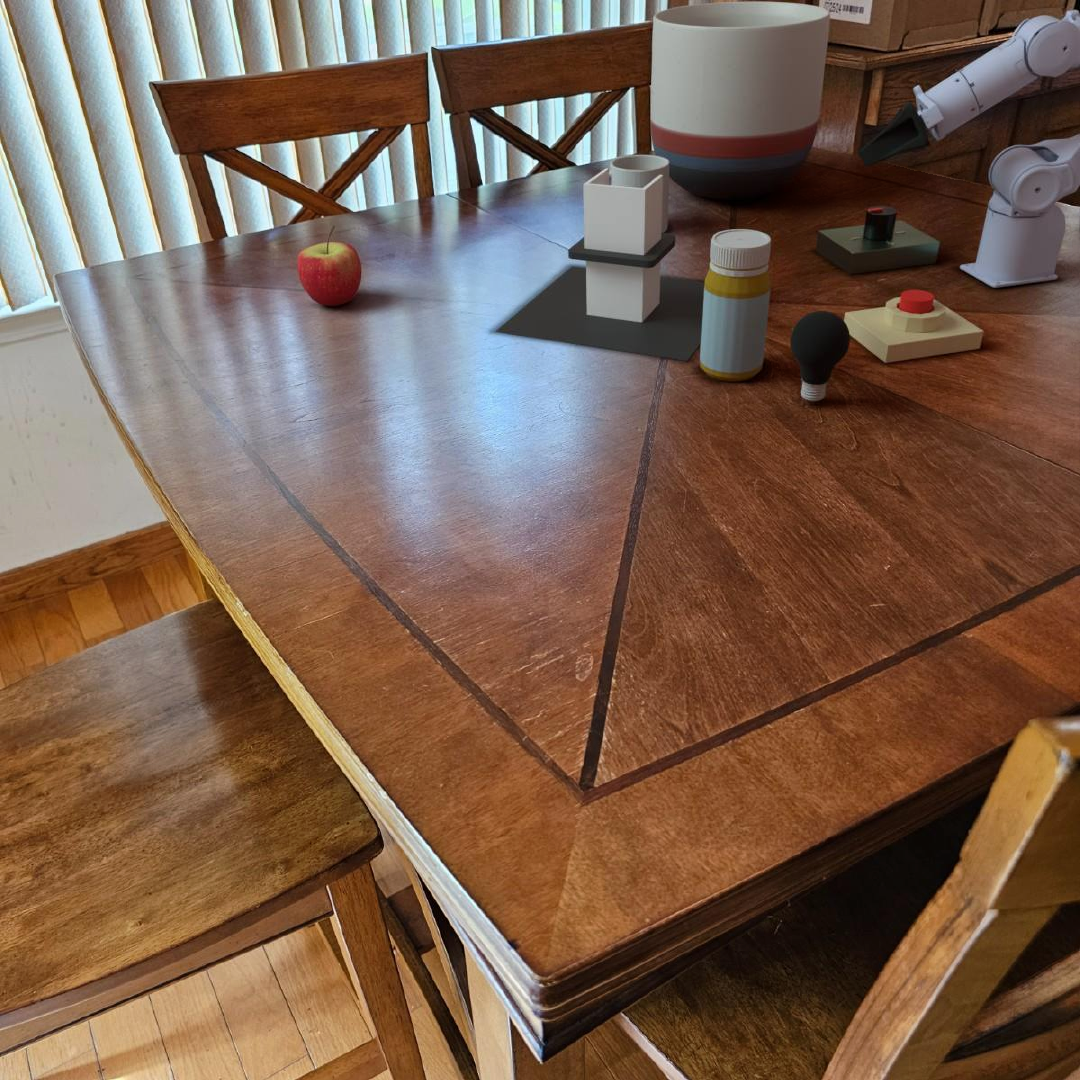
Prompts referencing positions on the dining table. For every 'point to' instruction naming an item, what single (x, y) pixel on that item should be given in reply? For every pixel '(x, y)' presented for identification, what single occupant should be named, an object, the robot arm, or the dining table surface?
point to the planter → (736, 93)
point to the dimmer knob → (880, 223)
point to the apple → (330, 272)
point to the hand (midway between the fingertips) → (862, 158)
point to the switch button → (916, 301)
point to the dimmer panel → (876, 249)
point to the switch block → (912, 332)
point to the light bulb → (818, 350)
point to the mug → (642, 176)
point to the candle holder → (618, 281)
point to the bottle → (736, 305)
